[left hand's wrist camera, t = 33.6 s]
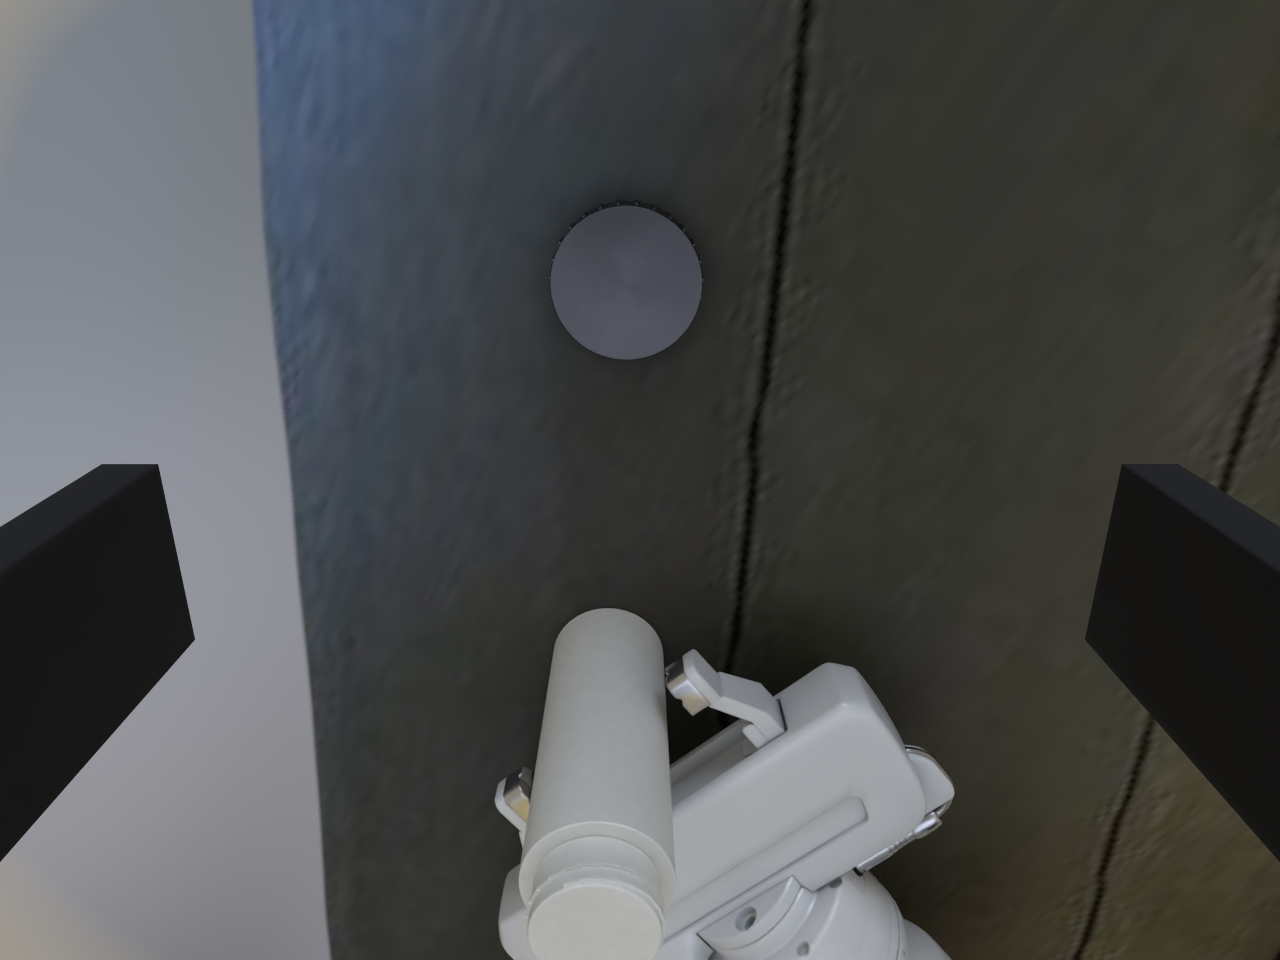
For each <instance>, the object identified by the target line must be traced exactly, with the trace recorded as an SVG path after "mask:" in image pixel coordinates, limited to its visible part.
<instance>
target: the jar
mask: <svg viewBox="0 0 1280 960" xmlns="http://www.w3.org/2000/svg"><path fill="white" fill-rule="evenodd" d="M518 880H519V890H520V894H521V897H522V900H523V902H524V904H525V906H526V907H527V910H526V914H525V921H526V928H527V938H528V943H529V946H530V949H531V951H532V953H533V955H534V956H535V958H536V959H537V960H653V959H654V958H655V956H656V954H657V953H658V950H659V948H660V947H661V946H662V942H663V939H664V936H665V912H666V911H667V909H668V907H669V906H670V904H671V901H672V899H673V896H674V893H675V888H676V874H675V856H674V838H673V820H672V802H671V784H670V767H669V749H668V731H667V713H666V695H665V678H664V660H663V648H662V644H661V641H660V639H659V637H658V635H657V633H656V632H655V630H654V629H653V628H652V627H651V626H650V625H649V624H648V623H647V622H646V621H645V620H643V619H642V618H641V617H639V616H637V615H635V614H633V613H631V612H628V611H625V610H621V609H614V608H601V609H595V610H591V611H588V612H585V613H583V614H581V615H579V616H577V617H575V618H574V619H572V620H571V621H570V622H569V623H568V624H567V625H566V626H565V627H564V628H563V629H562V631H561V632H560V634H559V635H558V637H557V640H556V642H555V646H554V652H553V658H552V665H551V671H550V677H549V684H548V690H547V697H546V703H545V710H544V716H543V723H542V729H541V735H540V742H539V748H538V755H537V761H536V768H535V774H534V780H533V787H532V793H531V800H530V806H529V813H528V819H527V825H526V832H525V838H524V845H523V851H522V858H521V864H520V871H519V878H518Z"/></svg>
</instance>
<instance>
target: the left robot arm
mask: <svg viewBox="0 0 1280 960" xmlns="http://www.w3.org/2000/svg"><path fill="white" fill-rule="evenodd" d="M194 640H195V637H194V633H193V628H192V623H191V619H190V614H189V609H188V604H187V599H186V595H185V590H184V585H183V581H182V576H181V571H180V566H179V561H178V557H177V552H176V547H175V543H174V538H173V533H172V528H171V524H170V519H169V514H168V509H167V504H166V500H165V495H164V490H163V485H162V481H161V476H160V471H159V467H158V464H101V465H100V466H98V467H97V468H95V469H93V470H92V471H90V472H88V473H87V474H85V475H84V476H82V477H80V478H79V479H77V480H76V481H74V482H72V483H71V484H69V485H67V486H66V487H64V488H63V489H61V490H59V491H58V492H56V493H55V494H53V495H51V496H50V497H48V498H46V499H45V500H43V501H42V502H40V503H38V504H37V505H35V506H34V507H32V508H30V509H29V510H27V511H25V512H24V513H22V514H21V515H19V516H17V517H16V518H14V519H12V520H11V521H9V522H8V523H6V524H4V525H3V526H1V527H0V861H1V860H2V859H3V858H4V857H5V856H6V855H7V853H8V852H9V851H10V850H11V849H12V848H13V847H14V846H15V844H16V843H17V842H18V841H19V840H20V839H21V838H22V836H23V835H24V834H25V833H26V832H27V831H28V830H29V828H30V827H31V826H32V825H33V824H34V823H35V822H36V820H37V819H38V818H39V817H40V816H41V815H42V814H43V812H44V811H45V810H46V809H47V808H48V807H49V805H50V804H51V803H52V802H53V801H54V800H55V799H56V798H57V796H58V795H59V794H60V793H61V792H62V791H63V790H64V788H65V787H66V786H67V785H68V784H69V783H70V782H71V780H72V779H73V778H74V777H75V776H76V775H77V774H78V772H79V771H80V770H81V769H82V768H83V767H84V766H85V764H86V763H87V762H88V761H89V760H90V759H91V758H92V756H93V755H94V754H95V753H96V752H97V751H98V750H99V748H100V747H101V746H102V745H103V744H104V743H105V742H106V741H107V739H108V738H109V737H110V736H111V735H112V734H113V733H114V731H115V730H116V729H117V728H118V727H119V726H120V725H121V723H122V722H123V721H124V720H125V719H126V718H127V717H128V715H129V714H130V713H131V712H132V711H133V710H134V709H135V707H136V706H137V705H138V704H139V703H140V702H141V701H142V699H143V698H144V697H145V696H146V695H147V694H148V693H149V691H150V690H151V689H152V688H153V687H154V686H155V685H156V683H157V682H158V681H159V680H160V679H161V678H162V677H163V675H164V674H165V673H166V672H167V671H168V670H169V669H170V667H171V666H172V665H173V664H174V663H175V662H176V661H177V659H178V658H179V657H180V656H181V655H182V654H183V653H184V652H185V650H186V649H187V648H188V647H189V646H190V645H191V644H192V642H193V641H194ZM1085 640H1086V641H1087V642H1088V644H1089V645H1090V646H1091V647H1092V648H1093V649H1094V650H1095V652H1096V653H1097V654H1098V655H1099V656H1100V657H1101V658H1102V660H1103V661H1104V662H1105V663H1106V664H1107V665H1108V666H1109V667H1110V669H1111V670H1112V671H1113V672H1114V673H1115V674H1116V675H1117V677H1118V678H1119V679H1120V680H1121V681H1122V682H1123V683H1124V685H1125V686H1126V687H1127V688H1128V689H1129V690H1130V691H1131V693H1132V694H1133V695H1134V696H1135V697H1136V698H1137V699H1138V701H1139V702H1140V703H1141V704H1142V705H1143V706H1144V707H1145V709H1146V710H1147V711H1148V712H1149V713H1150V714H1151V715H1152V717H1153V718H1154V719H1155V720H1156V721H1157V722H1158V723H1159V725H1160V726H1161V727H1162V728H1163V729H1164V730H1165V731H1166V733H1167V734H1168V735H1169V736H1170V737H1171V738H1172V739H1173V741H1174V742H1175V743H1176V744H1177V745H1178V746H1179V747H1180V749H1181V750H1182V751H1183V752H1184V753H1185V754H1186V755H1187V757H1188V758H1189V759H1190V760H1191V761H1192V762H1193V763H1194V764H1195V766H1196V767H1197V768H1198V769H1199V770H1200V771H1201V772H1202V774H1203V775H1204V776H1205V777H1206V778H1207V779H1208V780H1209V782H1210V783H1211V784H1212V785H1213V786H1214V787H1215V788H1216V790H1217V791H1218V792H1219V793H1220V794H1221V795H1222V796H1223V798H1224V799H1225V800H1226V801H1227V802H1228V803H1229V804H1230V806H1231V807H1232V808H1233V809H1234V810H1235V811H1236V812H1237V814H1238V815H1239V816H1240V817H1241V818H1242V819H1243V820H1244V822H1245V823H1246V824H1247V825H1248V826H1249V827H1250V828H1251V830H1252V831H1253V832H1254V833H1255V834H1256V835H1257V836H1258V838H1259V839H1260V840H1261V841H1262V842H1263V843H1264V844H1265V846H1266V847H1267V848H1268V849H1269V850H1270V851H1271V852H1272V854H1273V855H1274V856H1275V857H1276V858H1277V859H1278V860H1279V861H1280V527H1279V526H1277V525H1276V524H1274V523H1272V522H1271V521H1269V520H1268V519H1266V518H1264V517H1263V516H1261V515H1259V514H1258V513H1256V512H1255V511H1253V510H1251V509H1250V508H1248V507H1247V506H1245V505H1243V504H1242V503H1240V502H1238V501H1237V500H1235V499H1234V498H1232V497H1230V496H1229V495H1227V494H1225V493H1224V492H1222V491H1221V490H1219V489H1217V488H1216V487H1214V486H1213V485H1211V484H1209V483H1208V482H1206V481H1204V480H1203V479H1201V478H1200V477H1198V476H1196V475H1195V474H1193V473H1192V472H1190V471H1188V470H1187V469H1185V468H1183V467H1182V466H1180V465H1179V464H1122V467H1121V471H1120V476H1119V481H1118V486H1117V490H1116V495H1115V500H1114V505H1113V509H1112V514H1111V519H1110V523H1109V528H1108V533H1107V538H1106V542H1105V547H1104V552H1103V557H1102V561H1101V566H1100V571H1099V576H1098V580H1097V585H1096V590H1095V595H1094V599H1093V604H1092V609H1091V614H1090V618H1089V623H1088V628H1087V633H1086V637H1085Z"/></svg>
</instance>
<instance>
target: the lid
mask: <svg viewBox="0 0 1280 960" xmlns="http://www.w3.org/2000/svg"><path fill="white" fill-rule="evenodd" d="M568 229H569V231H568V233H567V234H566V235H565V237H562V238H561V239H560V241H559V242H558V244H559V247H558V249H557V251H556V253H555V255H554V256H553V258H552V260H551V261H553V262H552V267H551V272H550V275H549V279H550V293H551V294H550V297H551V298H552V303H553V306H554V309H555V313H556V314H557V316H558V318H559V320H560V322H561V324H562V325H563V327H564V328H565V330H566V331H567V332H568V333H569V334H570V335H571V337H572V338H573V339H575V340H576V341H577V342H578V343H579V344H580V345H582V346H583V347H585V348H586V349H588V350H590V351H592V352H594V353H595V354H598V355H601V356H603V357H607V358H611V359H617V360H636V359H642V358H646V357H650V356H653V355H655V354H657V353H660V352H662V351H664V350H665V349H667V348H668V347H670V346H671V345H673V344H674V343H675V342H676V341H678V340H679V339H680V338H681V336H682V335H683V334H684V333H685V332H686V331H687V330H688V328H689V327H690V325H691V323H692V322H693V320H694V318H695V316H696V315H697V311H698V309H699V305H700V301H701V299H702V289H703V281H704V278H703V276H702V270H701V265H700V263H702V262H701V259H700V257H699V255H697V253H696V250H695V248H694V246H695V244H694V242H693V240H692V239H689V237H688V235H687V234H686V232H685V229H684V227H683V225H682V224H681V225H679V224H678V223H677V222H676V221H675V220H674V219H673V218H672V217H671V215H670V213H667V214H666V213H665V212H663V211H661V210H659V209H658V208H655V205H654V204H652V206H650V205H648V204H644V203H639V202H638V200H635V202H631V201H622V202H620V200H617V202H614V203H609V204H606V205H603V203H602V204H600V206H599V207H598V208H595V209H593V210H591V211H590V212H587V211H586V212H585V213H584V214H583V216H582V217H581V218H580V219H579V220H578V221H577V222H576V223H575V224H574V223H572V224H571V225H570V227H569V228H568Z"/></svg>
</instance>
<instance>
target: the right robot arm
mask: <svg viewBox="0 0 1280 960" xmlns="http://www.w3.org/2000/svg"><path fill="white" fill-rule="evenodd" d="M665 673H666V674H667V677H666V679H665V681H666V685H667V688H668V689H669V691H670V692H671V694H672V695H673V696H674V697H675V698H676V699H680V700H682V704H683V707H684V708H685V709H686V710H687V711H688V712H689V713H690V714H691V715H692V716H693V715H695V714H696V713H698V712H699V711H701V710H703V709H704V708H706V707H707V706H709V707H711V708H714V709H716V710H719V711H722V712H725V713H727V714H730V715H733V716H736V717H738V718H740V719H739V720H737V721H736V722H734V723H733V724H731V725H730V726H728V727H727V728H725V729H724V730H722V731H720V732H719V733H717V734H716V735H714V736H713V737H711V738H710V739H708V740H707V741H705V742H704V743H702V744H701V745H699V746H698V747H696V748H695V749H693V750H692V751H690V752H689V753H687V754H686V755H684V756H683V757H681V758H680V759H678V760H677V761H675V762H674V763H672V764H670V765H669V767H670V784H671V802H672V820H673V838H674V856H675V874H676V888H675V893H674V896H673V899H672V901H671V904H670V906H669V907H668V909H667V911H666V912H665V936H664V939H663V942H662V946H661V947H660V948H659V950H658V953H657V954H656V956H655V958H654V959H653V960H952V959H951V958H950V957H949V956H948V955H947V954H946V953H945V952H944V950H943V949H942V948H941V947H940V946H939V945H938V944H937V943H936V942H935V941H934V940H933V939H932V938H931V937H930V936H929V935H928V934H927V933H926V932H925V931H924V930H922V929H921V928H920V927H918V926H916V925H915V924H913V923H912V922H910V921H908V920H905V919H903V917H902V915H901V912H900V910H899V908H898V906H897V904H896V902H895V901H894V899H893V898H892V896H891V895H890V893H889V892H888V891H887V890H886V889H885V887H884V886H883V885H882V884H881V883H880V882H879V881H878V880H877V879H876V878H875V877H874V876H873V875H872V874H871V873H870V871H869V869H871V868H873V867H874V866H876V865H878V864H879V863H881V862H883V861H885V860H886V859H888V858H889V857H891V856H892V855H894V854H895V853H896V852H897V851H899V849H901V848H903V847H904V845H907V844H909V842H912V841H914V840H915V839H917V838H918V839H921V838H923V837H925V836H927V835H929V834H930V833H932V832H933V831H934V830H936V829H937V828H938V827H939V826H940V825H941V824H942V823H943V820H942V818H941V815H943V814H944V813H945V812H946V811H947V809H948V808H949V807H950V805H951V803H952V801H953V797H954V793H955V792H954V784H953V781H952V779H951V777H950V775H949V774H948V773H947V772H946V771H945V769H944V768H943V767H942V766H941V765H940V763H939V762H938V761H937V760H936V759H935V758H934V756H932V755H931V754H930V753H928V752H927V751H925V750H924V749H922V748H920V747H916V746H912V745H904V743H903V741H902V739H901V737H900V735H899V733H898V731H897V729H896V728H895V726H894V724H893V722H892V720H891V718H890V717H889V715H888V713H887V712H886V710H885V708H884V707H883V705H882V704H881V702H880V701H879V699H878V698H877V696H876V695H875V693H874V692H873V690H872V689H871V688H870V686H869V685H868V684H867V682H866V681H865V679H864V678H863V677H862V676H861V674H860V673H859V672H858V671H857V670H856V669H855V668H853V667H850V666H845V665H841V664H836V663H830V662H829V663H825V664H822V665H821V666H819V667H817V668H816V669H814V670H813V671H811V672H810V673H808V674H807V675H805V676H804V677H802V678H801V679H799V680H798V681H796V682H795V683H793V684H792V685H790V686H789V687H787V688H786V689H784V690H783V691H781V692H780V693H778V694H776V695H775V696H772V695H771V694H770V693H769V692H768V691H767V690H766V689H765V688H764V686H763V685H762V684H761V683H758V682H754V681H751V680H747V679H744V678H740V677H737V676H733V675H730V674H726V673H723V672H718V673H717V672H716V671H715V670H714V669H713V668H712V667H711V666H710V665H709V664H708V663H707V662H706V661H705V659H704V658H703V657H702V656H701V655H700V654H699V653H698V652H697V651H696V650H694V649H692V650H690V651H689V652H688V653H686V654H685V655H683V656H682V657H680V658H679V659H677V660H676V661H675V662H673V663H672V664H670V665H669V666H667V667H666V668H665ZM533 780H534V775H533V771H532V770H531V769H530V768H529V767H527V766H523V767H522V768H520V769H519V770H517V771H516V772H514V773H513V774H511V775H510V776H508V777H507V778H505V779H504V780H502V781H501V782H500V783H499V784H498V786H497V791H496V796H495V804H496V807H497V809H498V810H499V812H500V813H501V814H502V815H504V816H505V817H506V818H507V819H508V820H509V821H510V822H511V823H512V824H513V825H514V826H516V827H517V828H518V829H519V830H520V831H519V835H520V839H521V843H522V848H523V845H524V838H525V832H526V825H527V819H528V813H529V806H530V800H531V793H532V787H533ZM520 864H521V863H520ZM520 864H519V865H517V866H516V867H514V868H513V869H512V870H511V871H510V872H509V873H508V875H507V877H506V880H505V884H504V889H503V894H502V899H501V905H500V912H499V934H500V940H501V943H502V946H503V948H504V949H505V951H506V952H507V953H508V954H509V955H510V956H511V957H512V958H513V959H514V960H537V959H536V958H535V956H534V955H533V953H532V951H531V949H530V946H529V943H528V938H527V928H526V921H525V914H526V910H527V907H526V906H525V904H524V902H523V900H522V897H521V894H520V890H519V880H518V878H519V871H520Z"/></svg>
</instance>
